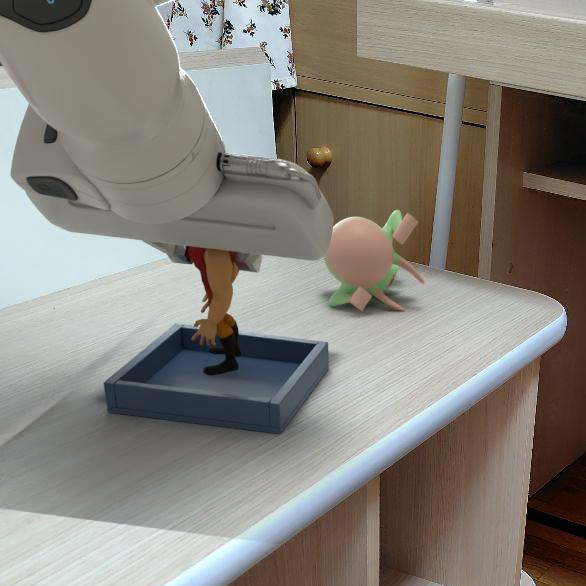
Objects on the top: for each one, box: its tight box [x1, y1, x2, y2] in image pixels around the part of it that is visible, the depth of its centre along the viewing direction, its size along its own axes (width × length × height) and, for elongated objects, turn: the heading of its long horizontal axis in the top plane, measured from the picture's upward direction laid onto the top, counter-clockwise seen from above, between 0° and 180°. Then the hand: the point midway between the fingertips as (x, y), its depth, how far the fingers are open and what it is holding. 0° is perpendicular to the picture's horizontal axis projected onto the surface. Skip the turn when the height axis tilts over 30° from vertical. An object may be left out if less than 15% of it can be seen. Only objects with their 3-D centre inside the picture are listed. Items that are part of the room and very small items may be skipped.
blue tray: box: [103, 323, 330, 435], centre depth 81 cm, size 14×14×2 cm
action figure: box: [188, 246, 241, 375], centre depth 77 cm, size 10×4×15 cm, turn 10°
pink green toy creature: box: [323, 209, 426, 312], centre depth 102 cm, size 12×10×9 cm
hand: (218, 259), depth 77 cm, fingers closed on action figure, 4 cm apart
